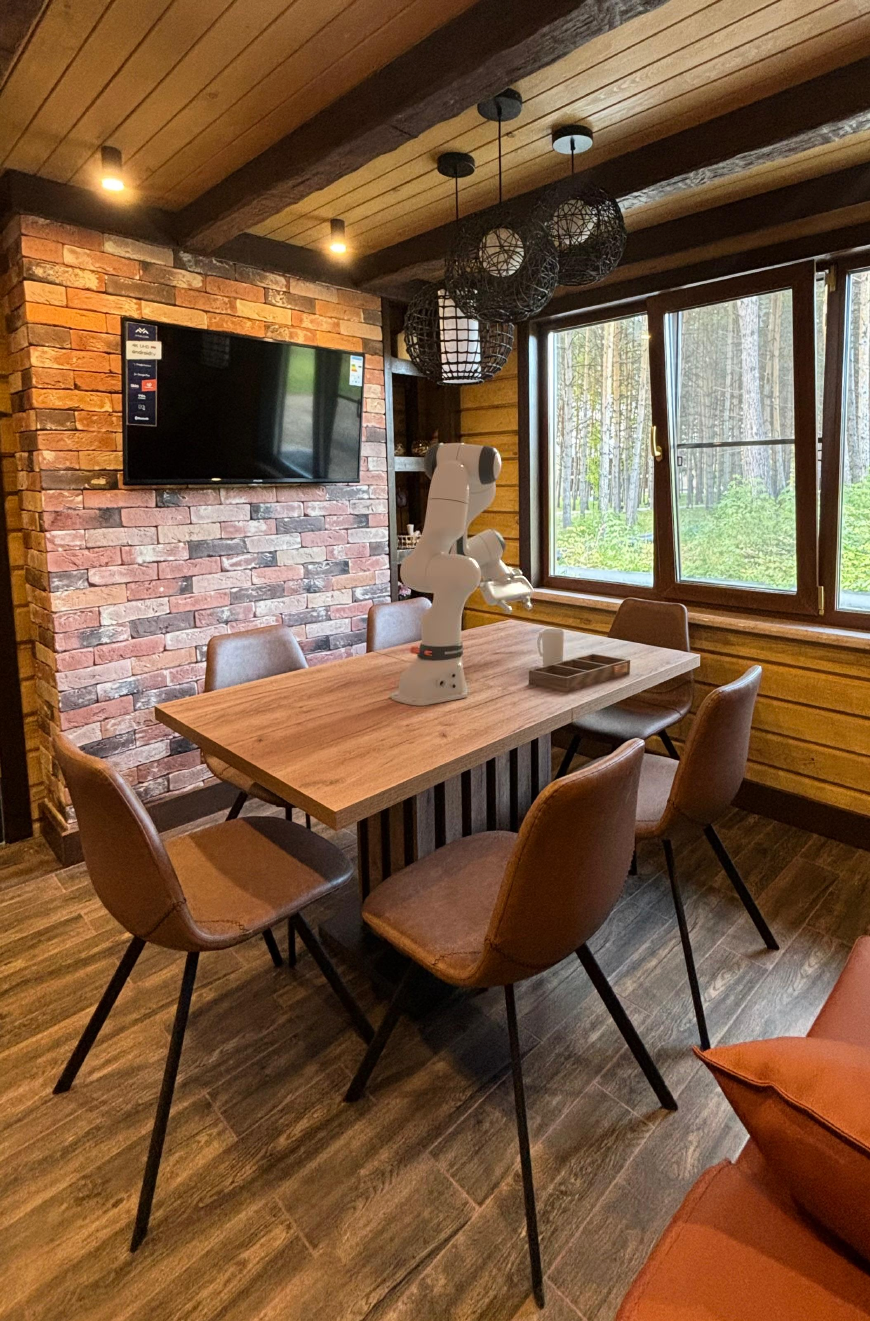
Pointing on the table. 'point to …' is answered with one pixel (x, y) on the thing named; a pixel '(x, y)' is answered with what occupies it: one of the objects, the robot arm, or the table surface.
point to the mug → (551, 645)
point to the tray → (579, 672)
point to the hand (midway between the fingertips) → (520, 610)
